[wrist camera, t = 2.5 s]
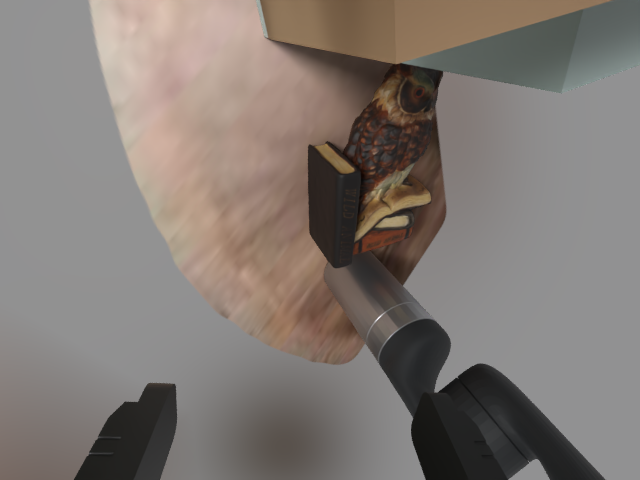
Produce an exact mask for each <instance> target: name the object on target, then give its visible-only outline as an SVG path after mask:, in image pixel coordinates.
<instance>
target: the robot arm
mask: <svg viewBox="0 0 640 480" xmlns="http://www.w3.org/2000/svg"><path fill="white" fill-rule="evenodd" d="M324 279H325V282H326V284H327V285H328V287H329V289H330V290H331V292H332V293H333V295H334V296H335V298H336V299H337V301H338V302H339V304H340V305H341V307H342V309H343V310H344V312H345V313H346V315H347V316H348V318H349V319H350V321H351V322H352V324H353V325H354V327H355V328H356V330H357V331H358V333H359V334H360V336H361V337H362V339H363V341H364V342H365V344H366V345H367V346H368V348H369V349H370V351H371V352H372V354H373V355H374V357H375V358H376V360H377V361H378V363H379V365H380V366H381V367H382V369H383V371H384V372H385V373H386V375H387V377H388V378H389V380H390V381H391V383H392V384H393V386H394V388H395V389H396V391H397V392H398V394H399V395H400V397H401V399H402V400H403V402H404V403H405V405H406V407H407V408H408V410H409V412H410V413H411V415H412V416H413V421H412V425H411V436H412V441H413V445H414V447H415V450H416V453H417V456H418V459H419V462H420V465H421V467H422V470H423V473H424V476H425V479H426V480H508V479H509V478H511V477H512V476H513V475H515V474H516V473H517V472H518V471H520V470H521V469H522V468H524V467H525V466H526V465H527V464H529V462H531V461H532V460H534V459H538V460H539V461H540V462H541V464H542V466H543V467H544V469H545V471H546V473H547V474H548V477H549V478H550V480H605V479H604V478H603V477H602V475H601V474H600V473H599V472H598V471H597V470H596V469H595V468H594V467H593V466H592V465H591V464H590V463H589V462H588V461H587V460H586V459H585V458H584V457H583V455H582V454H581V453H580V452H579V451H578V450H577V449H576V448H575V447H574V446H573V445H572V444H571V443H570V442H569V441H568V440H567V439H566V437H565V436H564V435H563V434H562V433H561V432H560V431H559V430H558V429H557V428H556V427H555V426H554V425H553V424H552V423H551V422H550V420H549V419H548V418H547V417H546V416H545V415H544V414H543V413H542V412H541V411H540V410H539V409H538V408H537V407H536V406H535V405H534V404H533V403H532V402H531V401H530V400H529V399H528V398H527V397H526V396H525V394H524V393H523V392H522V391H521V390H520V389H519V388H518V387H517V386H516V385H515V384H513V383H512V382H511V381H510V380H509V379H508V378H507V377H506V376H504V375H503V374H502V373H501V372H499V371H498V370H496V369H495V368H493V367H491V366H489V365H486V364H476V365H474V366H472V367H470V368H469V369H467V370H466V371H464V372H463V373H462V374H460V375H459V376H458V378H459V379H458V378H455V379H454V380H453V381H452V382H450V383H449V384H448V385H447V386H445V387H444V388H443V389H442V390H440V391H439V392H438V393H434V389H435V384H436V380H437V377H438V375H439V372H440V370H441V369H442V367H443V365H444V363H445V361H446V359H447V357H448V355H449V352H450V347H451V342H450V338H449V336H448V334H447V333H446V332H445V331H444V329H442V327H441V326H440V325H439V324H438V323H437V322H436V321H435V320H434V319H433V318H432V317H431V316H430V314H429V313H428V312H426V310H425V309H424V308H423V307H422V306H421V305H420V304H419V303H418V302H417V301H416V300H415V299H414V298H413V296H412V295H411V294H410V293H409V292H408V291H407V290H406V289H405V288H404V287H403V286H402V285H401V284H400V283H399V281H398V280H397V279H396V278H395V277H394V276H393V275H392V274H391V273H390V272H389V271H388V270H387V269H386V268H385V266H384V265H383V264H382V263H381V262H380V261H379V260H378V259H377V258H376V257H375V256H374V255H373V253H372V252H371V251H366V252H362V253H359V254H354V255H353V256H352V263H351V265H348V266H345V267H342V268H333V267H332V265H331V264H330V263H329V262H328V264H327V266H326V268H325V271H324ZM176 406H177V405H176V386H175V384H165V383H149V384H147V386H146V387H145V389H144V391H143V393H142V395H141V397H140V399H139V401H138V402H124V403H123V404H122V405H121V406H120V407H119V408H118V409H117V410H116V411H115V412H114V413H113V414H112V415H111V416H110V417H109V418H108V420H107V421H106V423H105V425H104V427H103V428H102V430H101V432H100V434H99V436H98V439H97V440H96V441H95V443H94V445H93V446H92V448H91V450H90V452H89V456H87V457H86V459H85V461H84V463H83V464H82V466H81V468H80V470H79V471H78V473H77V475H76V477H75V479H74V480H160V478H161V474H162V471H163V469H164V466H165V463H166V460H167V457H168V454H169V451H170V448H171V445H172V442H173V439H174V435H175V430H176V424H177V407H176ZM528 461H529V462H528Z"/></svg>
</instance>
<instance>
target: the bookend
mask: <svg viewBox="0 0 640 480" xmlns="http://www.w3.org/2000/svg"><path fill="white" fill-rule="evenodd" d="M442 77H443V71H441V70H435V69H430V68H425V67H420V66H414V65H409V64H404V63H399V64H394V65H393V66H391V67H390V69H389V70H388V72H387V73H386V75H385V79H384V80H383V83H382V85H381V86H380V87H379V88H378V89H377V90H376V92H375V93H374V98H373V100H372V102H371V103H370V104H369V105H368V106H367V108H366V109H364V110H363V112H362V113H361V115H360V116H359V117H357V118H356V119H355V121H354V123H353V125H352V129H351V132H350V137H349V141H348V144H347V145H346V147H345V149H344V152H343V154H342V153H341V152H340V151H339V150H338V149H336V148H334V146H333V145H332V144H331V143H330V142H328V141H327V142H326V143H325V145H322V146H312V145H309V146H308V193H309V230H310V235H311V237H312V238H313V240H314V241H315V243H316V244H317V246H318V247H319V249H320V250H321V252H322V253H323V254H324V256H325V257H326V258H327V260H328V262H329V263H330V264H331V265H332V267H333V268H342V267H345V266H348V265H351V263H352V256H353V255H354V254H359V253H362V252H366V251H370V250H373V249H376V248H380V247H383V246H386V245H389V244H393V243H395V242H398V241H401V240H403V239H406V238H408V237H410V235H411V232H412V228H413V225H414V215H413V213H412V210H411V209H413V208H417V207H421V206H422V205H425V204H430V203H431V196H430V192H429V191H428V190H427V189H426V188H425V187H424V186H423V185H422V184H421V183H420V182H419V181H418V180H416V179H415V178H413V177H412V176H410V175H409V172H410V170H411V169H412V167H413V166H414V164H415V162H417V161H418V159H419V158H420V157H421V156H422V155H423V154H424V152H425V150H426V149H427V145H428V144H429V142H430V138H431V131H432V125H433V123H432V121H431V118H432V115H434V106H435V104H436V101H437V95H438V87H439V84H440V81H441V78H442Z"/></svg>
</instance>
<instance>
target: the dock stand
mask: <svg viewBox="0 0 640 480" xmlns="http://www.w3.org/2000/svg"><path fill="white" fill-rule="evenodd" d="M256 2H257V7H258V11H259V15H260V19H261V24H262V28H263V32H264V36H265V37H266V38H268V34H267V30H266V25H265V21H264V17H263V12H262V8H261V4H260V0H256ZM402 63H404V64H409V65H414V66H420V67H425V68H430V69H435V70H441V71H447V72H452V73H457V74H462V75H467V76H473V77H478V78H483V79H489V80H494V81H499V82H504V83H510V84H515V85H520V86H525V87H531V88H536V89H541V90H547V91H552V92H557V93H564V92H566V91H569V90H572V89H575V88H577V87H580V86H583V85H586V84H589V83H591V82H594V81H597V80H600V79H602V78H605V77H608V76H611V75H613V74H616V73H619V72H622V71H624V70H627V69H630V68H633V67H636V66H638V65H640V0H612V1H609V2H606V3H602V4H599V5H595V6H592V7H589V8H585V9H582V10H579V11H575V12H572V13H568V14H565V15H562V16H558V17H555V18H551V19H548V20H545V21H541V22H538V23H534V24H531V25H528V26H524V27H521V28H517V29H514V30H511V31H507V32H504V33H500V34H497V35H494V36H490V37H487V38H483V39H480V40H477V41H473V42H470V43H466V44H463V45H460V46H456V47H453V48H449V49H446V50H443V51H439V52H436V53H433V54H429V55H426V56H422V57H419V58H416V59H412V60H409V61H405V62H402Z"/></svg>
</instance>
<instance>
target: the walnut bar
mask: <svg viewBox="0 0 640 480" xmlns="http://www.w3.org/2000/svg"><path fill="white" fill-rule="evenodd" d="M609 1H612V0H260V4H261V8H262V12H263V17H264V21H265V25H266V30H267V34H268V38H269V39H271V40H276V41H281V42H286V43H291V44H296V45H301V46H306V47H312V48H317V49H322V50H327V51H332V52H337V53H342V54H347V55H352V56H357V57H362V58H367V59H372V60H377V61H382V62H387V63H392V64H399V63H402V62H405V61H409V60H412V59H416V58H419V57H422V56H426V55H429V54H433V53H436V52H439V51H443V50H446V49H449V48H453V47H456V46H460V45H463V44H466V43H470V42H473V41H477V40H480V39H483V38H487V37H490V36H494V35H497V34H500V33H504V32H507V31H511V30H514V29H517V28H521V27H524V26H528V25H531V24H534V23H538V22H541V21H545V20H548V19H551V18H555V17H558V16H562V15H565V14H568V13H572V12H575V11H579V10H582V9H585V8H589V7H592V6H595V5H599V4H602V3H606V2H609Z"/></svg>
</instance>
